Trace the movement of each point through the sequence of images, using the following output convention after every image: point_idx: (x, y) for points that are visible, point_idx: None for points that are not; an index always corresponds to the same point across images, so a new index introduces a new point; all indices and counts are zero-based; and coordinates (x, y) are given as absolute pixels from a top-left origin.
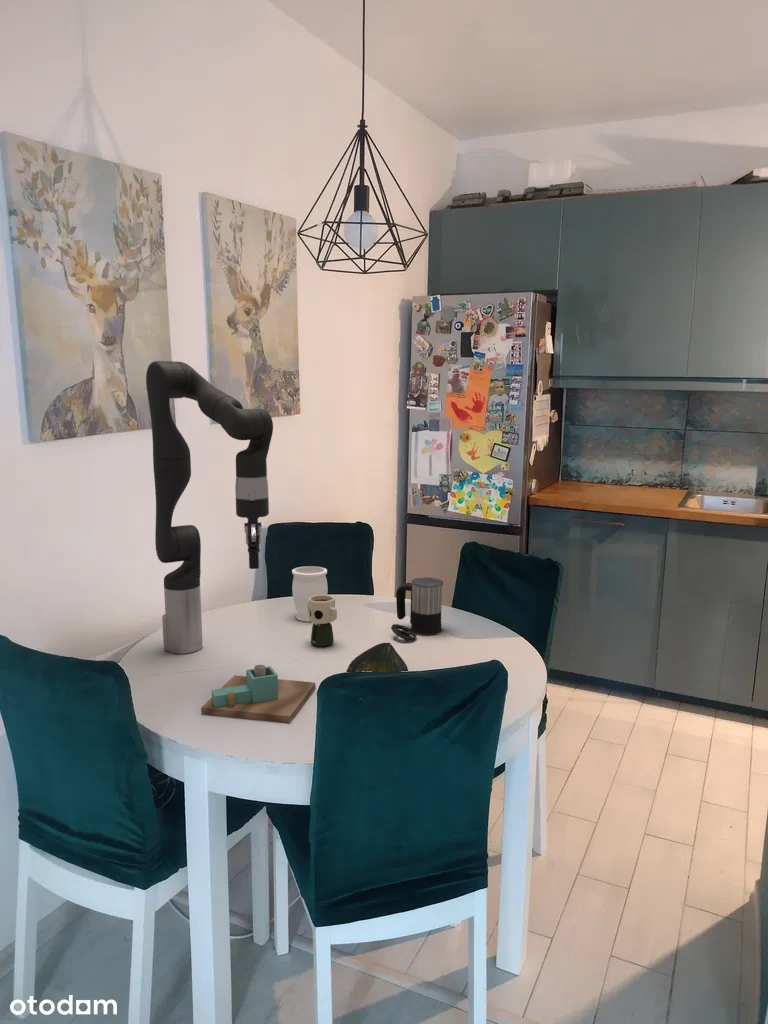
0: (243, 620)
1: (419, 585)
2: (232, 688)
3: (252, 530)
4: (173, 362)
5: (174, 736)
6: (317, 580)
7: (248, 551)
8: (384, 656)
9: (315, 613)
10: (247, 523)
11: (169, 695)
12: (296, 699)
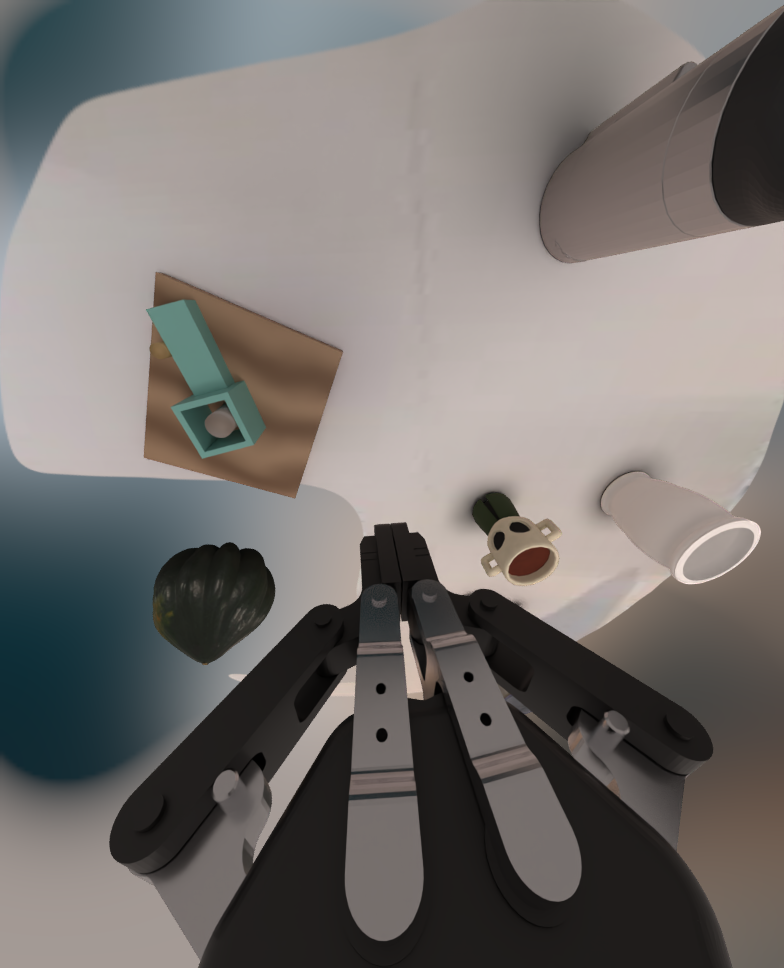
0: (689, 366)
1: (510, 694)
2: (200, 353)
3: (182, 927)
4: None
5: (25, 203)
6: (664, 557)
7: (362, 599)
8: (175, 646)
9: (503, 537)
10: (526, 904)
11: (269, 172)
12: (219, 468)
